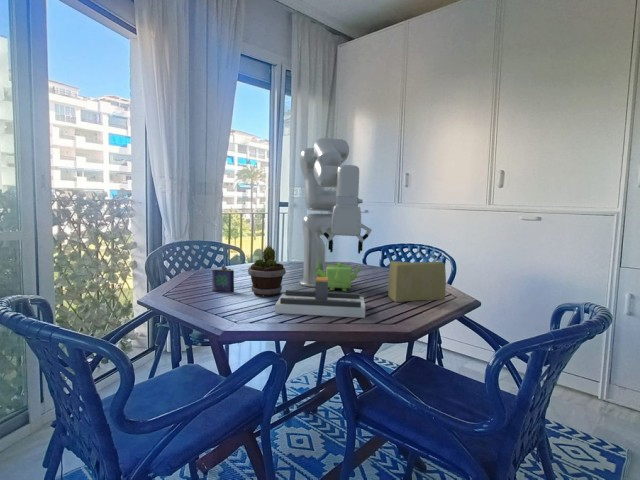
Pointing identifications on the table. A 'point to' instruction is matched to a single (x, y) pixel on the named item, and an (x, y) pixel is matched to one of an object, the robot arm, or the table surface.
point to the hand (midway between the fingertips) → (345, 252)
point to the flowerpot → (266, 274)
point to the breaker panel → (320, 308)
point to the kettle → (339, 276)
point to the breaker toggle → (321, 288)
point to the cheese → (416, 281)
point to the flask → (223, 279)
